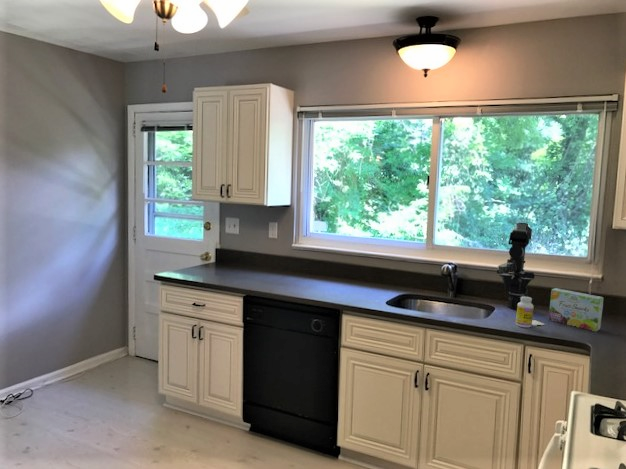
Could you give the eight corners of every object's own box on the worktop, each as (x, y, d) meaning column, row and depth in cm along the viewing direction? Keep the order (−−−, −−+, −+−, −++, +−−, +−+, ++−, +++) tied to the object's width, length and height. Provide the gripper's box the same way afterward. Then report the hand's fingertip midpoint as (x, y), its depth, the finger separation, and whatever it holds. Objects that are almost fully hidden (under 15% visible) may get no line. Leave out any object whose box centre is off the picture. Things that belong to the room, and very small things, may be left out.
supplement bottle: (521, 328, 237) (524, 299, 236) (512, 323, 243) (515, 295, 242) (534, 327, 239) (537, 299, 237) (525, 323, 245) (527, 295, 244)
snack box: (547, 320, 252) (550, 289, 250) (552, 318, 256) (555, 287, 254) (596, 332, 237) (600, 298, 235) (600, 329, 241) (604, 296, 239)
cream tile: (535, 321, 249) (535, 320, 249) (544, 325, 244) (544, 323, 244) (524, 322, 247) (524, 320, 247) (533, 325, 242) (533, 324, 242)
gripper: (489, 254, 254) (485, 288, 254) (517, 258, 236) (513, 294, 237) (508, 256, 258) (505, 289, 258) (537, 260, 240) (533, 295, 241)
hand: (513, 291), depth 248 cm, fingers open, 9 cm apart
